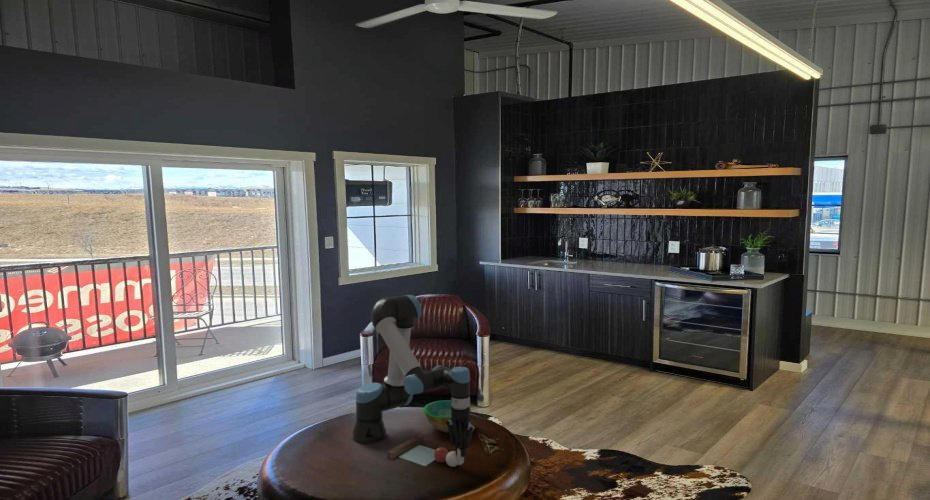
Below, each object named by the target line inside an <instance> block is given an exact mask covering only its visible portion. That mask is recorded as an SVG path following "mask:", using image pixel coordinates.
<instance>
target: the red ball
mask: <svg viewBox="0 0 930 500" xmlns="http://www.w3.org/2000/svg"><path fill="white" fill-rule="evenodd" d="M434 450H435V452H434V458H435V460H434V461H436V462H438V463H442V464H443V463H445V462H446V455H447V454H448V453H449V451H448V449H447V448H446V447H444V446H440V447H437V448H436V449H434Z"/></svg>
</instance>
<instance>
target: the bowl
mask: <svg viewBox="0 0 930 500" xmlns="http://www.w3.org/2000/svg"><path fill="white" fill-rule="evenodd" d="M451 407H452V406H451V399H449V400H448V399H447V400H436V401H433V402H430V403H428V404H426V405H425V406H424V407H423V409H422V411H423V413H424V415H425V416H426V418H427V420H428V422H429V424H430V425H431V426H432V427H433V428H434V429H436V430H438V431H440V432H442V431H443V432H442V433H449V430H448V426H447V424H446V421H448V420H450V419H451V417H452V416H451ZM469 407H470V413H471V411H472V408H471V405H470V406H469Z"/></svg>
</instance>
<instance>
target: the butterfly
mask: <svg viewBox="0 0 930 500" xmlns="http://www.w3.org/2000/svg"><path fill="white" fill-rule="evenodd" d="M478 434H480V435H478V438H479V439H480V441H481V443H482V447H483V449H484V451H485V452H486V454H487V455H488V456H493V453H494V452H498V451H499V450H502V451H503V450H504V451H505V449H501V447H498V446H496V445H495V444H497V443H498V442H497V440H499V438H496V439H493V438H492V437H491V438H488V437H487V436H485V435H483V433H481V432H478ZM481 437H482V438H481ZM491 444H494V445H491Z"/></svg>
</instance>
